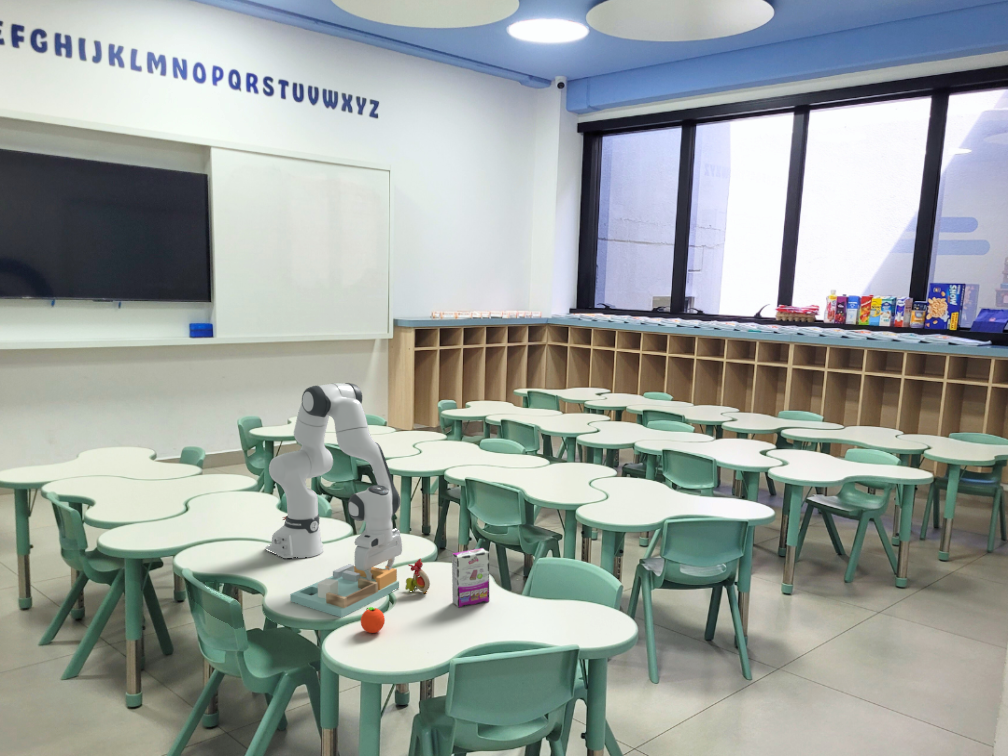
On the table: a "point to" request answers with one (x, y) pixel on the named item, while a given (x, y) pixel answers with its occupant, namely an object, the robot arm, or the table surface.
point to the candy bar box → (470, 577)
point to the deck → (345, 588)
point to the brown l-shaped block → (353, 594)
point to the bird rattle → (418, 578)
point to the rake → (380, 576)
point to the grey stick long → (350, 576)
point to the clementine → (372, 620)
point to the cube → (327, 587)
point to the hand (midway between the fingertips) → (379, 575)
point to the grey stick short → (342, 570)
